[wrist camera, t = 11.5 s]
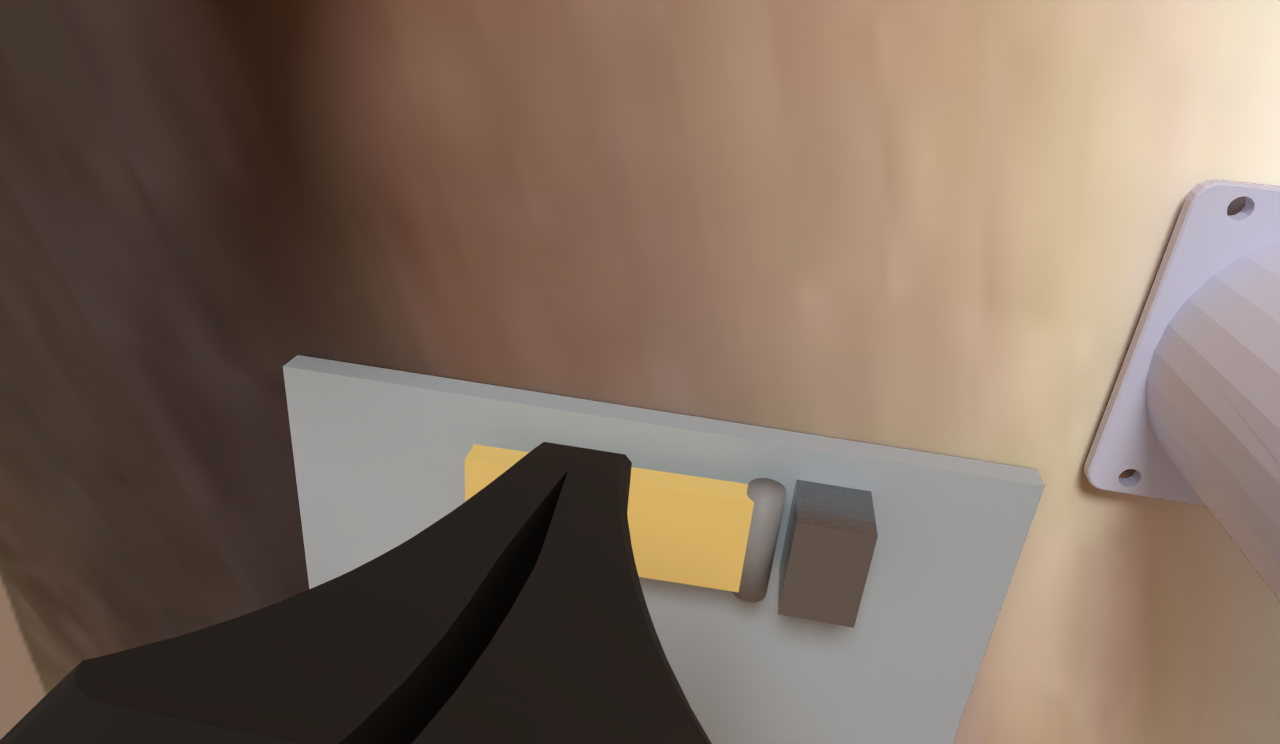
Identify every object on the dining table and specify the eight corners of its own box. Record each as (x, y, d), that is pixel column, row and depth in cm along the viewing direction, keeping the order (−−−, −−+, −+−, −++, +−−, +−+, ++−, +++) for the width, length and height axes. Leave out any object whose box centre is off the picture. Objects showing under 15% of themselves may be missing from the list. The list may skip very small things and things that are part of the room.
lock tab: (785, 480, 22) (786, 502, 21) (766, 580, 24) (766, 605, 23) (475, 436, 23) (463, 455, 22) (475, 536, 24) (464, 557, 23)
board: (1036, 469, 22) (1044, 485, 21) (896, 870, 30) (898, 891, 29) (297, 355, 25) (283, 366, 24) (341, 752, 32) (331, 770, 31)
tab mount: (871, 491, 22) (877, 536, 21) (849, 578, 24) (854, 627, 22) (796, 479, 23) (796, 522, 21) (779, 566, 24) (777, 614, 22)
